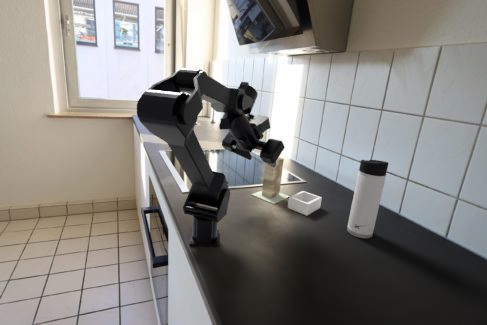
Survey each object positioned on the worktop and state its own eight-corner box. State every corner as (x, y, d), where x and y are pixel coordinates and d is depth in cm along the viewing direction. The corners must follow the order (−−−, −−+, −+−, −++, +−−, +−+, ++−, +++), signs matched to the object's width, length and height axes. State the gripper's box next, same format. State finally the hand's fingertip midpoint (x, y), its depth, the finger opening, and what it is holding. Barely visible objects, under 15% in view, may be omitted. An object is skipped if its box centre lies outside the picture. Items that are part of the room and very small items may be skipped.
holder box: (306, 215, 82) (308, 204, 81) (287, 207, 86) (288, 197, 85) (320, 207, 88) (321, 197, 87) (301, 200, 92) (302, 190, 91)
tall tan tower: (270, 198, 91) (274, 161, 88) (261, 195, 93) (265, 158, 90) (279, 195, 95) (283, 158, 91) (270, 191, 97) (274, 156, 94)
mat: (273, 204, 88) (273, 203, 88) (251, 195, 94) (251, 194, 94) (289, 197, 95) (289, 196, 95) (267, 188, 100) (267, 188, 100)
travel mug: (357, 240, 71) (374, 163, 66) (342, 227, 77) (356, 155, 72) (378, 238, 73) (396, 163, 67) (361, 225, 79) (376, 155, 73)
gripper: (285, 109, 71) (302, 148, 82) (231, 101, 83) (252, 136, 94) (262, 144, 68) (283, 179, 79) (209, 130, 79) (234, 163, 90)
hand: (262, 162), depth 86 cm, fingers open, 9 cm apart
